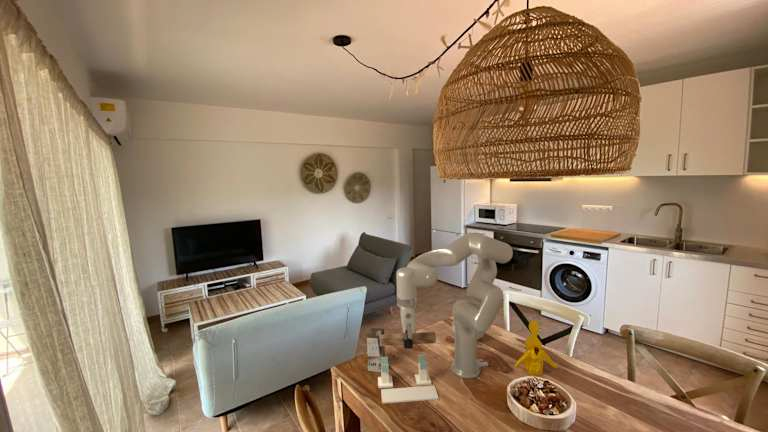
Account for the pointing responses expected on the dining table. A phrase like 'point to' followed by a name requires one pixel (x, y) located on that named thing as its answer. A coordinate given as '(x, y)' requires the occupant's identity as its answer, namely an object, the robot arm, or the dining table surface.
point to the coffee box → (375, 349)
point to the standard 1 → (385, 375)
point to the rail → (399, 338)
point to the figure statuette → (534, 352)
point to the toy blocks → (422, 372)
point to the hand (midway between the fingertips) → (407, 344)
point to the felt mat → (409, 394)
